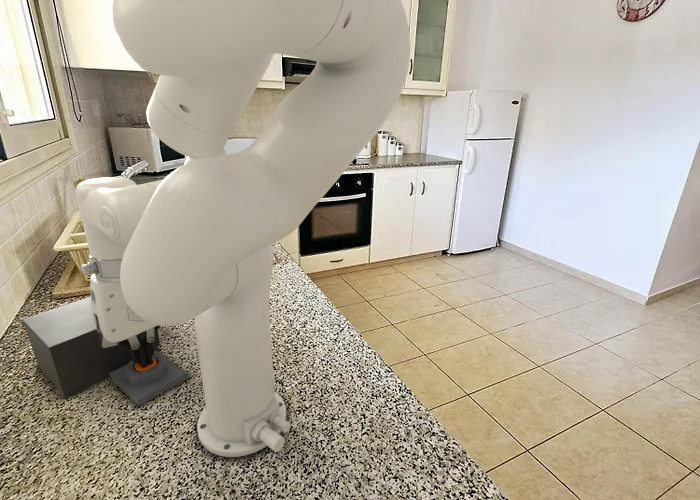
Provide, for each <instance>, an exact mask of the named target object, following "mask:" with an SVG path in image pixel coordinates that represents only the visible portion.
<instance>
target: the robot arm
mask: <svg viewBox="0 0 700 500" xmlns="http://www.w3.org/2000/svg"><path fill="white" fill-rule="evenodd" d="M112 2H113V3H112V22H113V26H114V31H115V34H116V37H117V39H118V41H119V44H120V46H121V48H122V50H123V51H124V53H125V54H126V56H127V57H128V58H129V59H130V60H131V61H132V62H133V63H134V64H135V65H136V66H138V67H140V68H141V69H142V70H143V71H145V72H149V73H151V74H154V75H158V76H159V77H158V80H157V82H156V85H155V86H154V90H153V92H152V95H151V97H150V99H149V102H148V105H147V107H146V113H145V114H146V121H147V123H148V126H149V128H150V130H151V131H152V132H153V133H154V134H155V136H156V137H157V138H158V139H159V140H160V141H161V142H162V143H163V144H165V145H166V146H168V147H169V148H170V149H172V150H174V151H175V152H177V153H178V154H180V155H183V156H185V157H186V160H185V162H184V164H182V165H181V166H179V167H177V168H176V169H174V170H173V171H171V172H170V173H169V174H168V175H167V176H166V177H165V178H163V179H159V180H156V181H151V182H144V183H140V184H137V183H136V182H135V181H134V180H132V179H131V178H126V177H121V176H120V177H118V176H108V177H107V176H105V177H95V178H90V179H85V180H86V181H83V182H81V183H80V184H79V185H78V186H77V188H75V197H76V202H77V206H78V210H79V211H78V212H79V214H80V219H81V222H82V226H83V231H84V235H85V239H86V243H87V247H88V253H89V256H88V258H89V260H88V262H86V263H85V264H81V265H80V269H81V272H82V274H83V275H88V274H91V276H90V280H89V281H90V282H89V284H90V285H89V289H90V291H89V292H90V297H91V306H92V313H93V319H94V323H95V327H96V330H97V331H98V332H99V344H100V345H101V346H102V347H103V348H107V347H112V346H116V345H118V344H120V345H123V346H126V347H129V351H130V356H131V360H132V361H133V363H134V364H136V363H138V364H139V365H140V366H141V367H142V368H145V367H147V365H151V364H153V359H152V356H153V355H154V351H153V346H152V342H153V340H154V335H155V334H156V332H157V330H158V331H159V329H160V328H161V327H175V326H179V325H182V324H185V323H187V322H189V321H191V320H193V319H194V334H195V343H196V349H197V356H198V363H199V370H200V375H201V384H202V389H203V396H204V403H205V407H204V408H203V410H202V411H201V413H200V415H199V417H198V420H197V424H196V428H197V435H198V440H199V441H200V443H201V445H202V446H203V447H204V448H205V449H206V450H207V451H209V452H210V453H211V454H214V455H217V456H219V457H225V458H226V457H227V458H239V457H244V456H245V457H246V456H249V455H253V454H255V453H257V452H259V451H261V450H263V449H264V448H266V447H268V448H269V449H271V450H272V451H274V452H275V453H278V452H279V451H281V450H282V449H283V447H284V445H285V443H286V438H285V437H284V436H283V435H281V433H284V434H286V433H288V432H289V431H290V429H291V426H292V424H291V423H290V422H289V421H287V406H286V404H285V403H286V402H285V400H284V399H283V398H282V397H281V395H280V394H279V393H277V392H276V391H275V380H274V377H275V376H274V365H273V350H272V349H273V347H272V332H271V331H272V330H271V313H270V311H271V310H270V309H271V308H270V296H271V295H270V294H271V284H272V277H273V270H274V259H275V258H274V257H275V256H274V254H275V253H274V244H277V242H279V241H281V240H283V239H284V238H286V237H287V236H289V235H290V234H292V233H293V232H294V231H295V230H297V228H299V226H300V225H301V224H302V223H303V221H305V219H306V218H307V216H308V215H309V214H310V212H311V211H312V210H313V209H314V208H315V207H316V205H317V204H318V203H319V202H320V201H321V200H322V198H323V197H324V196H325V195H326V194H327V193H328V192H329V190H330V189H331V188H332V187H333V186H334V185H335V184H336V182H337V181H338V180H339V179H340V177H341V176H342V175H343V173H344V172H346V170H347V168H348V167H349V166H350V165H351V164H352V163H353V161H354V160H355V159H356V158H357V157H358V156H359V155H360V154H361V152H362V151H363V150H364V148H365V147H366V146H367V145H368V144H369V143H370V141H371V140H372V139H373V138H374V137H375V136H376V134H377V133H378V132H379V131H380V129H381V128H382V127H383V125H384V124H385V122H386V121H387V120H388V118H389V117H390V115H391V113H392V112H393V111H394V108H395V106H396V105H397V102H398V101H399V99H400V96H401V94H402V91H403V89H404V86H405V84H406V81H407V80H406V79H407V76H408V72H409V66H410V60H411V59H410V58H411V34H410V28H409V22H408V17H407V13H406V10H405V6H404V4H403V1H402V0H113V1H112ZM275 54H281V55H284V56H289V57H294V58H299V59H304V60H308V61H312V62H316V64H315V67H314V68H313V69H312V70H311V73H310V74H309V75H308V76H306V78H305V79H304V80H302V81H301V82H300V83H299V84H298V85H297V86H296V87H295V88H294V89H292V90H291V92H289V93H288V94H287V95H286V96H285V97H284V98H283V99H282V100H281V102H280V103H279V104H278V105H277V107H276V109H275V110H274V112H273V113H272V115H271V117H270V118H269V120H268V122H267V123H266V125H265V126H264V128H263V129H262V130H261V132H260V133H259V135H258V136H257V137H256V138H255V140H254V141H253V142H252V143H250V145H249V146H247V147H246V148H245V149H242V150H240V151H237V152H234V153H230V154H227V153H226V150H225V146H226V144H227V142H228V140H229V139H230V137H231V135H232V133H233V132H234V130H235V127H236V126H237V124H238V122H239V121H240V118H241V117H242V115H243V113H244V111H245V110H246V108H247V106H248V104H249V102H250V101H251V100H252V97H253V95H254V93H255V91H256V90H257V88H258V86H259V84H260V83H261V80H262V79H263V77H264V76H265V74H266V71H267V70H268V69H269V67H270V64H271V62H272V60H273V58H274V55H275ZM137 334H139V337H138V338H137V337H136V335H137Z"/></svg>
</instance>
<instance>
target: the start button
mask: <svg viewBox="0 0 700 500" xmlns="http://www.w3.org/2000/svg"><path fill="white" fill-rule="evenodd" d="M152 359H153V364H151V365H147V367H145V368H142V367H141V366H140V365H139V364H138V363H136V364H135V370H136V372H144V371H149V370H151V369H152V368H154V367H155V366H156V365H157V361H156V359H155V358H152Z"/></svg>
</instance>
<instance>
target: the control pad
mask: <svg viewBox="0 0 700 500" xmlns="http://www.w3.org/2000/svg"><path fill="white" fill-rule="evenodd" d="M152 358H155V359H156V361H157V365H156V366H155V367H154V368H152V369H151V370H149V371H144V372H136V370H135V364H134V363H133V361H132V360H131V361H130V362H129V363H128V364H127V365H125V366H123V367H121V368H119V369H117V370H115V371H113V372H111V373H109V375H110V376H109V378H110V380H111V381H112V382H113V383H114V384H116V386H118V387H119V389H121V390H122V392H124V393H125V394H126V395H127V397H129V398H130V399H131V400H132V401H133V402H134V403H135V404H136V405H137V406H142V405H143V404H145V403H147V402H148V401H151V400H152V399H154V398H156V397H157V396H159V395H161V394H163V393H164V392H166V391H168V390H169V389H172V388H173V387H174V386H176V385H179V384H180V383H181V382H183V381H185V380H187V379H188V376H187V372H186V371H184V370H183V369H182V368H181V367H179V366H177V365H176V364H175V363H174V362H173V361H171V360H170V359H168V358H167V357H166V356H165V355H164V354H162V353H160V352H159V351H157V350H156V351H154V355H153V356H152Z"/></svg>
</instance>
